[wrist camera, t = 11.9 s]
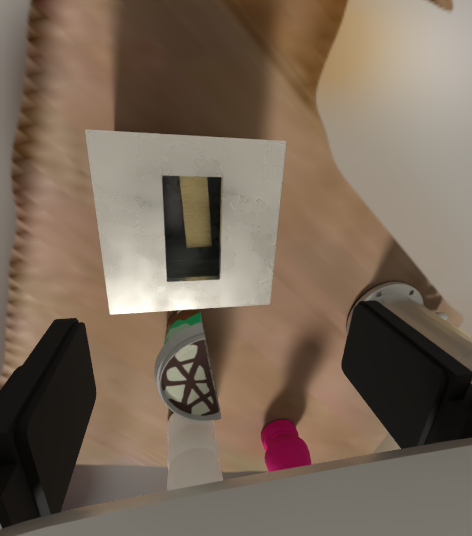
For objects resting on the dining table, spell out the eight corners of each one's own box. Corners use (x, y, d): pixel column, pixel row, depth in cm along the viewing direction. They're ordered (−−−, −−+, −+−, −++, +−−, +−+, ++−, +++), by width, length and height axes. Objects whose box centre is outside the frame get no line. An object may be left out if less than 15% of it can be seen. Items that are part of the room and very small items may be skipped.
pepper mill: (287, 448, 53) (348, 604, 35) (251, 445, 51) (296, 611, 33) (303, 418, 51) (377, 568, 33) (267, 414, 49) (324, 573, 30)
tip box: (250, 143, 32) (286, 141, 22) (243, 262, 37) (269, 304, 27) (114, 135, 29) (85, 129, 19) (127, 266, 34) (109, 314, 24)
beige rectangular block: (206, 173, 27) (211, 246, 29) (201, 169, 31) (206, 232, 34) (179, 174, 26) (186, 248, 29) (178, 170, 31) (184, 234, 33)
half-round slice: (147, 298, 36) (139, 348, 27) (195, 288, 37) (203, 333, 28) (168, 373, 41) (168, 436, 32) (211, 363, 42) (222, 422, 33)
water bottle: (179, 441, 47) (187, 717, 24) (159, 414, 44) (146, 700, 21) (219, 423, 47) (265, 678, 24) (202, 395, 44) (235, 656, 21)
